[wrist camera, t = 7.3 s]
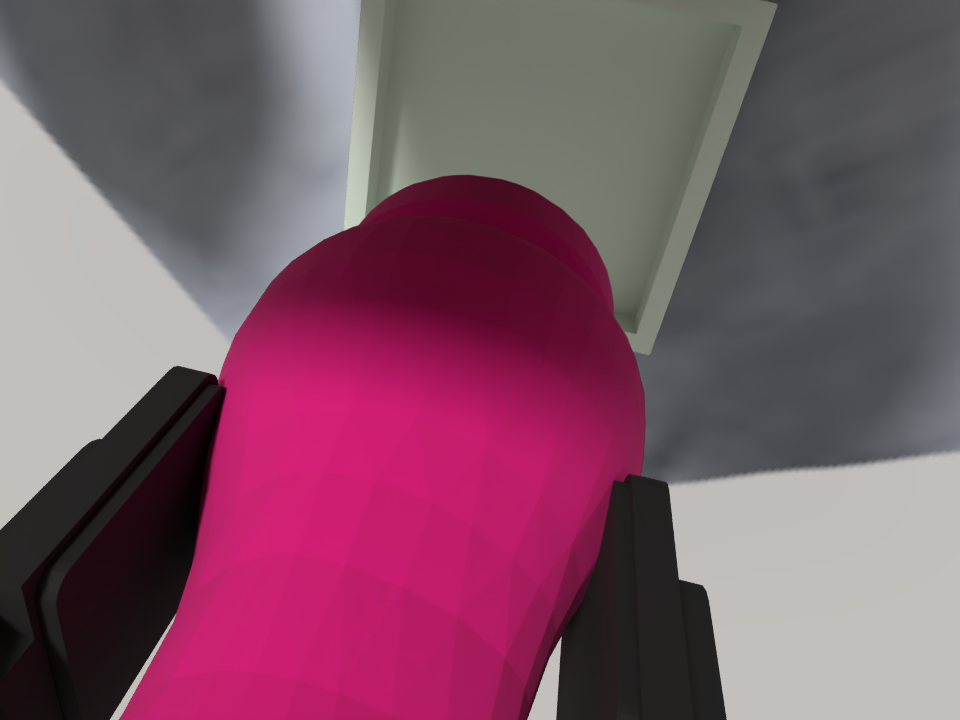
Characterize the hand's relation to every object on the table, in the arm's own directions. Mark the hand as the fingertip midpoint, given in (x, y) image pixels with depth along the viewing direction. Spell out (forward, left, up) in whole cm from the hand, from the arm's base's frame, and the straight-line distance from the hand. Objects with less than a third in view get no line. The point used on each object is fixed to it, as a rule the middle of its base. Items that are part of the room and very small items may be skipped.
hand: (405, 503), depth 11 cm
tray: (0, +4, -20) cm, 21 cm away
